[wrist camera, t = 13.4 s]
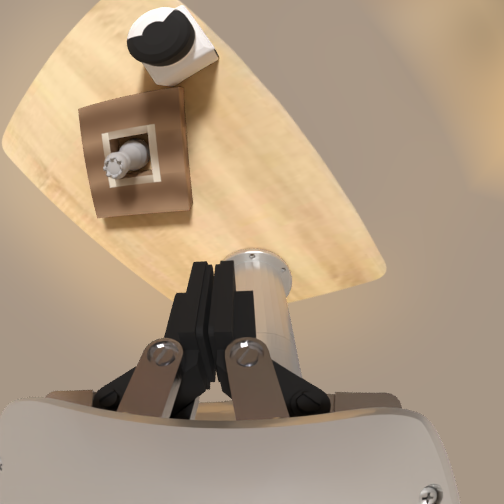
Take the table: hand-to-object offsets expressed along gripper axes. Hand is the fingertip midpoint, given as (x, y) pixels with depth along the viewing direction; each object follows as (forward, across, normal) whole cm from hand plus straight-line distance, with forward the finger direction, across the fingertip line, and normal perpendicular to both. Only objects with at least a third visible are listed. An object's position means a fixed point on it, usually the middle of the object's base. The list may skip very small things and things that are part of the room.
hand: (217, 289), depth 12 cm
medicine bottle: (+27, +6, -15) cm, 32 cm away
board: (+27, +13, -2) cm, 30 cm away
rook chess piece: (+27, +13, -2) cm, 30 cm away
